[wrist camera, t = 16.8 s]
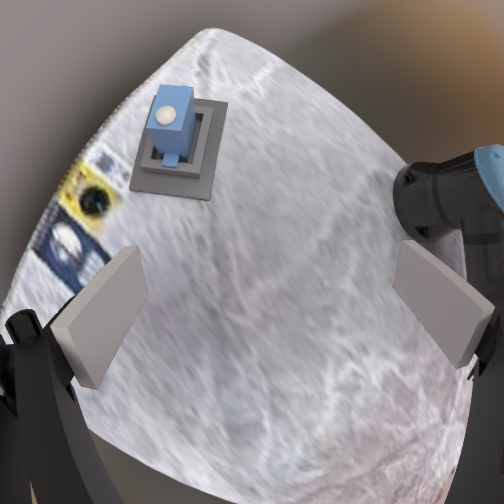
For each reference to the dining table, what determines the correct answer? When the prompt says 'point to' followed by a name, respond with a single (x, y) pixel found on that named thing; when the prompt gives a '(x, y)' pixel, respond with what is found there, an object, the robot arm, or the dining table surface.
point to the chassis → (187, 173)
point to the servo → (173, 123)
